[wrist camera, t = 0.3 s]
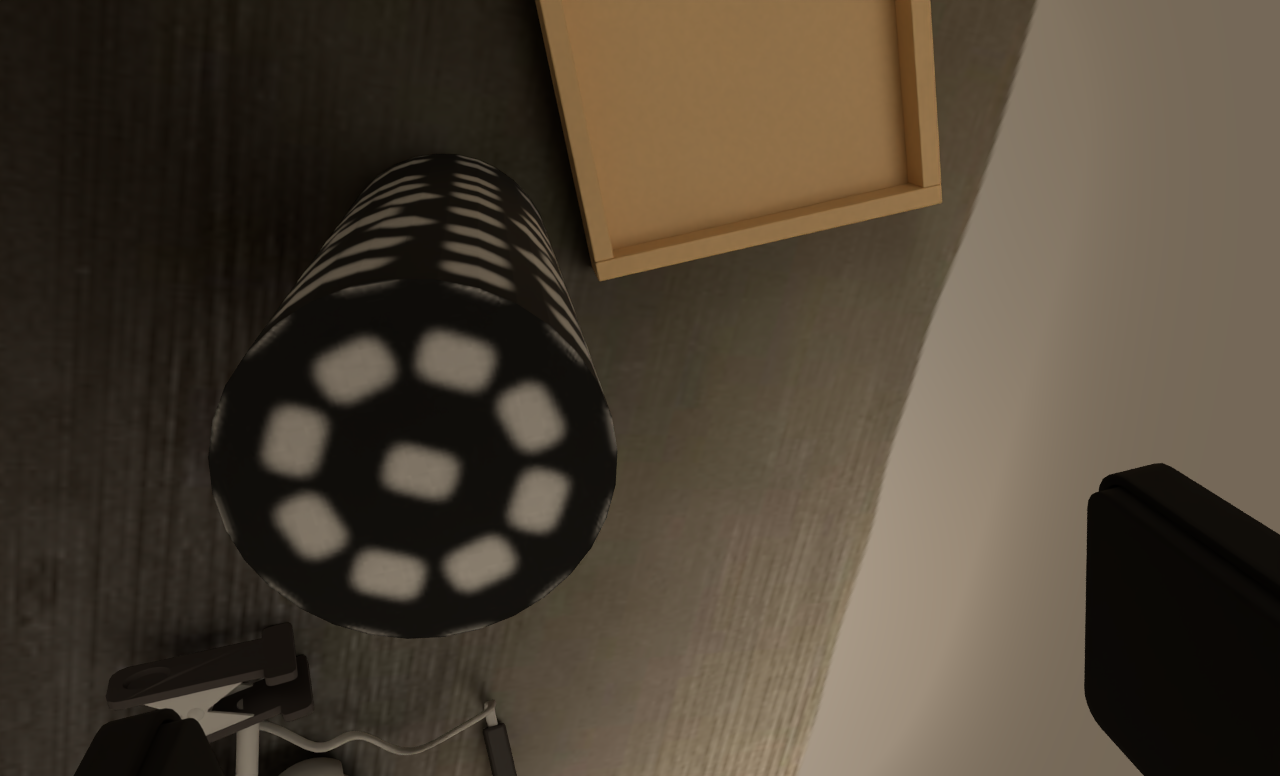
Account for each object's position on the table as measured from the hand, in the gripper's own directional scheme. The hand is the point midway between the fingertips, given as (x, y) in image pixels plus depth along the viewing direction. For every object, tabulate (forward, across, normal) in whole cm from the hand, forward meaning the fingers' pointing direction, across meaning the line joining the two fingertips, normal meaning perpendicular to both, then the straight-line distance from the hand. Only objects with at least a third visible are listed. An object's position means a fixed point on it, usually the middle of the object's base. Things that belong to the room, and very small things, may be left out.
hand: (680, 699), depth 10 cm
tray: (+30, -9, -8) cm, 33 cm away
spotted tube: (+31, +4, +2) cm, 31 cm away
